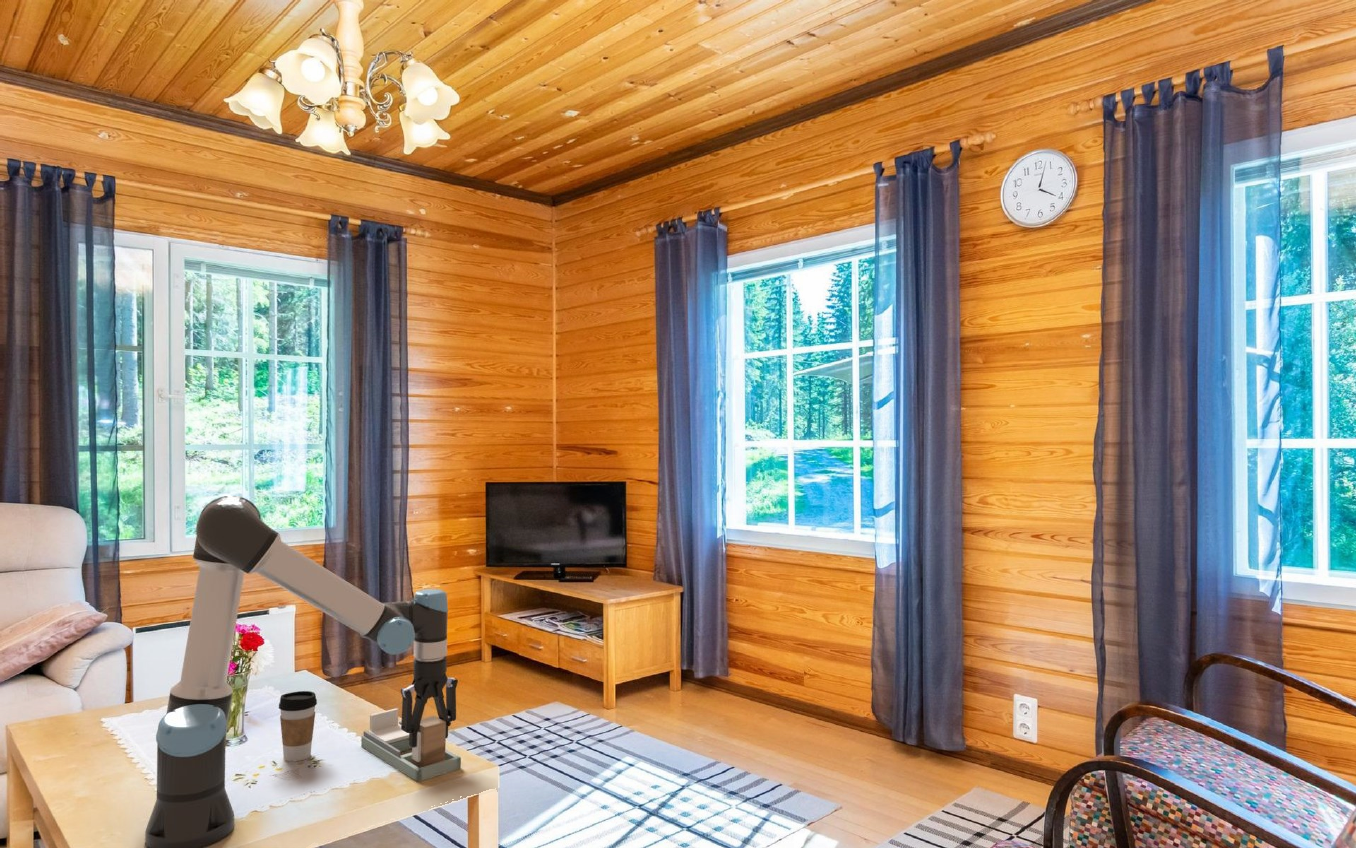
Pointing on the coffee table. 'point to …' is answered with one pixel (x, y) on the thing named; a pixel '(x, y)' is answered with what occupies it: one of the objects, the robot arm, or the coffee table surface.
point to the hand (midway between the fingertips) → (428, 756)
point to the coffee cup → (297, 724)
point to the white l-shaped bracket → (387, 726)
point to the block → (432, 741)
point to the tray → (408, 757)
